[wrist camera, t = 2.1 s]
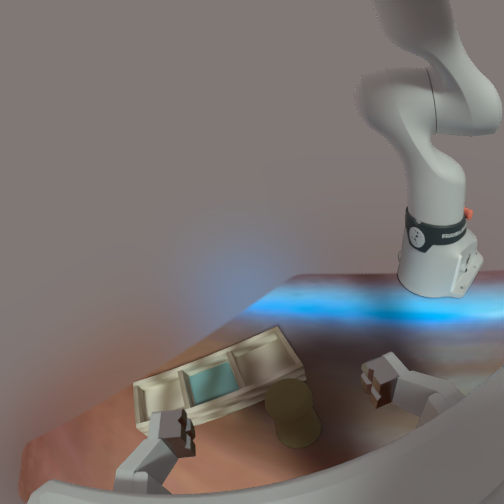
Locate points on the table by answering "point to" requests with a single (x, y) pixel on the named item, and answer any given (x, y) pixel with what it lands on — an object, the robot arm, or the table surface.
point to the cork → (293, 412)
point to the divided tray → (219, 380)
